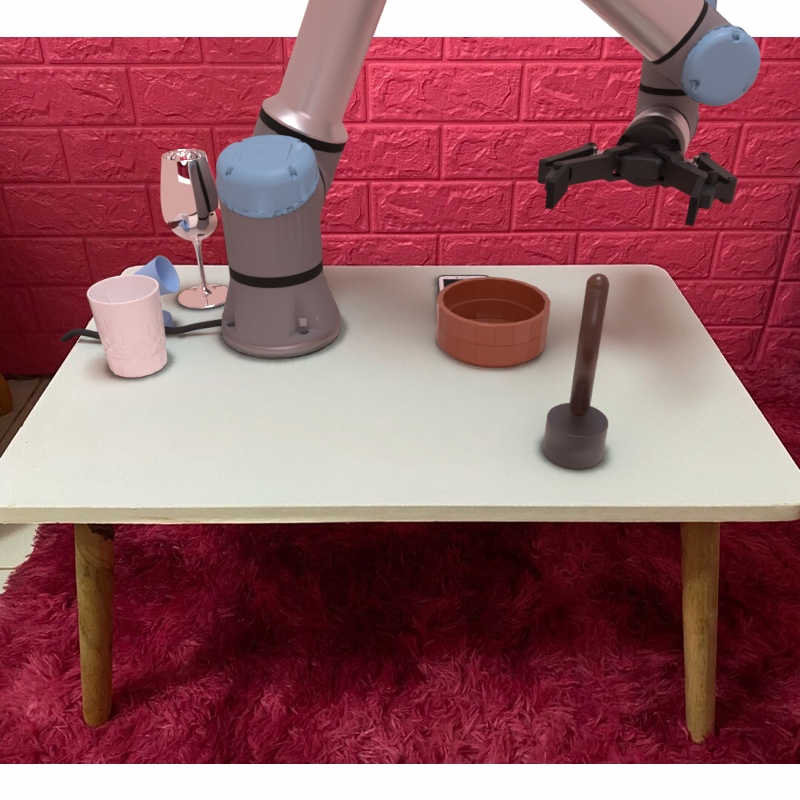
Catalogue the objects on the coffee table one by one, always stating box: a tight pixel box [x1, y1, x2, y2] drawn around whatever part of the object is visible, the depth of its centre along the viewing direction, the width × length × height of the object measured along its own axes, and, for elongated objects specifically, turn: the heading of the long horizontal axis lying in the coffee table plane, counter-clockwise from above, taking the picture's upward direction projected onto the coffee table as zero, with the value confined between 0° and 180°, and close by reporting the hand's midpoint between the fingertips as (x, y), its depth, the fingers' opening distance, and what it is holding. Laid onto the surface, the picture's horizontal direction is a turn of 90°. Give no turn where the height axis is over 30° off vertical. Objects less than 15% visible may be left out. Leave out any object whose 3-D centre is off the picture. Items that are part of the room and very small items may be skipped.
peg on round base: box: [542, 273, 610, 470], centre depth 73 cm, size 6×6×20 cm
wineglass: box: [159, 148, 228, 310], centre depth 104 cm, size 8×8×20 cm
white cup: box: [86, 274, 168, 378], centre depth 91 cm, size 8×8×10 cm
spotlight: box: [132, 255, 181, 335], centre depth 99 cm, size 5×10×7 cm
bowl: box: [435, 276, 552, 369], centre depth 96 cm, size 14×14×6 cm
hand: (618, 203), depth 75 cm, fingers open, 13 cm apart
